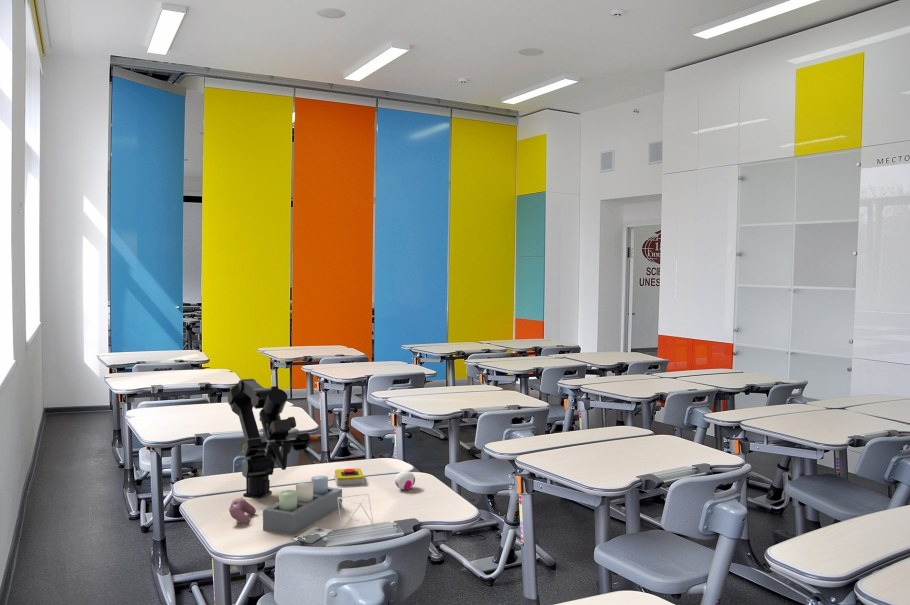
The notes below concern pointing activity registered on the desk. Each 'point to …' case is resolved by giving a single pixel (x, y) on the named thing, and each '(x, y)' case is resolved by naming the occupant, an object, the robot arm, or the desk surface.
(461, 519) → the desk surface
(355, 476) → the emergency button
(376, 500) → the desk surface
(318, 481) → the slate-blue button
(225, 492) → the desk surface
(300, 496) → the ivory button
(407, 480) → the stress ball
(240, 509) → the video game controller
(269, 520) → the grey compartment tray
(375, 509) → the desk surface
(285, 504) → the sage button
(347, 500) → the geometric polyhedron
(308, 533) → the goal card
